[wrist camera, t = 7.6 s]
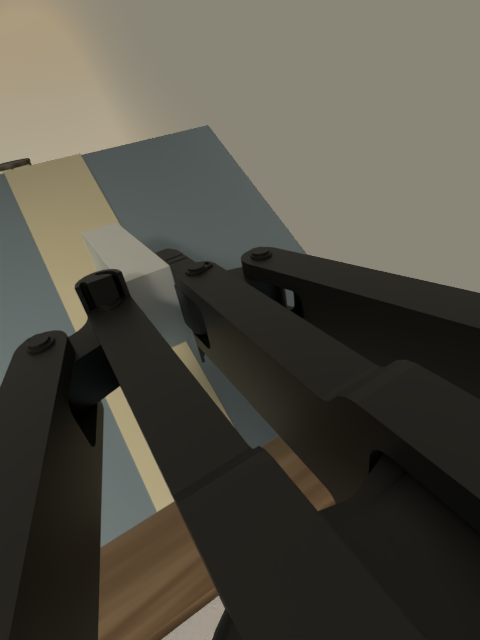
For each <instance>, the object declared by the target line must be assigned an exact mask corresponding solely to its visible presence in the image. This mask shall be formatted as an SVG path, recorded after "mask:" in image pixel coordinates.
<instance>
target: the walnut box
mask: <svg viewBox="0 0 480 640" xmlns="http://www.w3.org/2000/svg"><path fill="white" fill-rule="evenodd" d="M262 448H264V449H265V450H266V451H267V452H268V453H269V454H270V455H271V456H272V457H273V458H274V459H275V460H276V462H277V463H278V464H279V465H280V466H281V468H282V469H283V470H284V471H285V472H286V474H287V475H288V476H289V477H290V478H291V479H292V481H293V482H294V483H295V484H296V485H297V487H298V488H299V489H300V490H301V491H302V493H303V494H304V495H305V496H306V497H307V499H308V500H309V501H310V502H311V503H312V505H313V506H314V507H315V508H316V509H317V511H319V510H322V509H325V508H327V507H330V506H333V505H335V504H336V503H335V501H334V499H333V497H332V495H331V494H330V492H329V491H328V490H327V488H326V487H325V486H324V485H323V484H322V483H321V482H320V480H319V479H318V478H317V477H316V476H315V475H314V474H313V473H312V472H311V470H310V469H309V468H308V467H307V466H306V465H305V464H304V463H303V462H302V460H301V459H300V458H299V457H298V456H297V455H296V454H295V453H294V452H293V451H292V449H291V448H290V447H289V446H288V445H287V444H286V443H285V442H284V441H283V439H282V438H281V437H280V436H278V437H276V438H275V439H273V440H271V441H270V442H268V443H267V444H265V445H263V446H262ZM217 596H218V592H217V590H216V588H215V586H214V584H213V582H212V580H211V578H210V575H209V573H208V571H207V569H206V567H205V565H204V563H203V561H202V558H201V556H200V554H199V552H198V550H197V548H196V546H195V544H194V542H193V539H192V537H191V535H190V533H189V531H188V529H187V527H186V525H185V523H184V520H183V518H182V516H181V514H180V512H179V510H178V508H177V506H176V504H175V502H173V503H171V504H170V505H168V506H167V507H165V508H163V509H162V510H160V511H159V512H157V513H155V514H154V515H152V516H151V517H149V518H148V519H146V520H144V521H143V522H141V523H140V524H138V525H136V526H135V527H133V528H132V529H130V530H129V531H127V532H125V533H124V534H122V535H121V536H119V537H117V538H116V539H114V540H113V541H111V542H109V543H108V544H106V545H105V546H103V547H102V548H100V583H99V622H98V640H161V639H162V638H164V637H165V636H166V635H167V634H169V633H170V632H171V631H173V630H174V629H175V628H177V627H178V626H179V625H180V624H182V623H183V622H184V621H186V620H187V619H188V618H190V617H191V616H192V615H194V614H195V613H196V612H197V611H199V610H200V609H201V608H203V607H204V606H205V605H207V604H208V603H209V602H210V601H212V600H213V599H214V598H216V597H217Z"/></svg>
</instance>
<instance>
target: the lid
mask: <svg viewBox="0 0 480 640" xmlns="http://www.w3.org/2000/svg"><path fill="white" fill-rule="evenodd" d="M114 222H116V223H118V224H119V225H120V226H121V227H123V228H124V229H125V230H126V231H127V232H129V233H130V234H131V235H132V236H134V237H135V238H136V239H137V240H139V241H140V242H141V243H142V244H144V245H145V246H146V247H147V248H148V249H150V250H151V251H152V252H153V253H156V252H159V251H161V250H164V249H167V248H169V249H175V250H178V251H180V252H181V253H183V255H186V256H187V257H188V258H190V259H192V260H193V261H194V262H202V261H210V262H213V263H216V264H217V265H219V266H220V267H222V268H224V269H225V270H230V269H235V268H239V267H242V263H241V256H242V255H243V254H244V253H245V252H247V251H249V250H251V249H252V248H257V247H260V246H262V247H275V248H279V249H284V250H288V251H293V252H297V253H302V254H306V253H305V251H304V250H303V249H302V247H301V246H300V245H299V244H298V242H297V241H296V240H295V238H294V237H293V236H292V235H291V233H290V232H289V230H288V229H287V228H286V227H285V225H284V224H283V223H282V221H281V220H280V219H279V217H278V216H277V215H276V213H275V212H274V211H273V210H272V208H271V207H270V206H269V204H268V203H267V202H266V200H265V199H264V198H263V196H262V195H261V194H260V193H259V191H258V190H257V189H256V187H255V186H254V185H253V183H252V182H251V181H250V180H249V178H248V177H247V176H246V174H245V173H244V172H243V171H242V169H241V168H240V167H239V165H238V164H237V162H236V161H235V160H234V159H233V157H232V156H231V155H230V153H229V152H228V151H227V149H226V148H225V147H224V145H223V144H222V143H221V142H220V140H219V139H218V138H217V136H216V135H215V134H214V132H213V131H212V130H211V128H210V127H209V126H208V125H207V126H203V127H198V128H194V129H190V130H186V131H181V132H177V133H173V134H169V135H164V136H161V137H156V138H152V139H147V140H143V141H139V142H135V143H131V144H126V145H122V146H118V147H114V148H110V149H105V150H101V151H97V152H92V153H88V154H84V155H81V154H77V155H73V156H69V157H65V158H60V159H56V160H51V161H47V162H43V163H39V164H34V165H30V166H26V167H22V168H17V169H13V170H9V171H5V172H4V173H3V174H0V386H1V384H2V381H3V379H4V376H5V374H6V371H7V369H8V366H9V364H10V361H11V359H12V356H13V354H14V352H15V350H16V349H17V348H18V346H20V345H21V344H22V343H23V342H25V340H26V339H28V338H30V337H32V336H33V335H36V334H41V333H43V332H47V331H52V330H61V331H63V332H65V333H66V334H67V336H68V337H69V336H71V335H72V334H74V333H75V332H77V331H78V330H80V329H81V328H82V327H83V326H84V325H85V323H86V322H87V319H88V318H87V314H86V312H85V310H84V308H83V306H82V303H81V301H80V299H79V297H78V295H77V293H76V291H75V284H76V283H77V282H78V281H79V280H80V279H82V278H83V277H85V276H87V275H89V274H91V273H94V272H97V269H96V267H95V265H94V262H93V260H92V257H91V255H90V253H89V250H88V248H87V245H86V243H85V240H84V238H83V236H82V232H85V231H89V230H92V229H95V228H98V227H102V226H105V225H108V224H111V223H114ZM306 255H307V254H306ZM285 290H286V299H287V305H288V306H291V307H294V294H293V291H290V290H287V289H285ZM187 327H188V326H187ZM188 330H189V334H190V337H191V339H190V340H188V341H185V342H183V343H181V344H179V345H177V346H174V347H172V349H173V350H174V352H175V353H176V354H177V355H178V357H179V358H180V359H181V360H182V362H183V363H184V364H185V365H186V367H187V368H188V369H189V371H190V372H191V373H192V374H193V376H194V377H195V378H196V379H197V381H198V382H199V383H200V384H201V386H202V387H203V388H204V390H205V391H206V392H207V393H208V395H209V396H210V397H211V398H212V400H213V401H214V402H215V403H216V405H217V406H218V407H219V408H220V410H221V411H222V412H223V414H224V415H225V416H226V417H227V419H228V420H229V421H230V422H231V424H232V425H233V426H234V427H235V429H236V430H237V431H238V433H239V434H240V435H241V436H242V438H243V439H244V440H245V441H246V443H247V444H248V445H249V446H250V447H251V448H253V449H254V448H256V447H257V446H260V447H262V446H263V445H265V444H267V443H268V442H270V441H271V440H273V439H275V438H276V437H278V436H279V435H278V434H277V433H276V432H275V431H274V429H273V428H272V427H271V426H270V425H269V424H268V423H267V422H266V421H265V420H264V418H263V417H262V416H261V415H260V414H259V413H258V412H257V411H256V410H255V408H254V407H253V406H252V405H251V404H250V403H249V402H248V401H247V400H246V398H245V397H244V396H243V395H242V394H241V393H240V392H239V391H238V390H237V389H236V387H235V386H234V385H233V384H232V383H231V382H230V381H229V380H228V379H227V377H226V376H225V375H224V374H223V373H222V372H221V371H220V370H219V369H218V367H217V366H216V365H215V364H214V363H213V362H212V361H211V360H210V359H209V358H208V356H207V355H206V354H205V356H204V359H205V362H203V363H202V361H201V359H200V355H199V352H198V348H197V345H196V341H195V338H194V334H193V331H192V330H191V329H190V328H189V327H188ZM101 402H102V404H103V407H104V428H103V467H102V506H101V544H100V548H102V547H103V546H105V545H106V544H108V543H109V542H111V541H113V540H114V539H116V538H117V537H119V536H121V535H122V534H124V533H125V532H127V531H129V530H130V529H132V528H133V527H135V526H136V525H138V524H140V523H141V522H143V521H144V520H146V519H148V518H149V517H151V516H152V515H154V514H155V513H157V512H159V511H160V510H162V509H163V508H165V507H167V506H168V505H170V504H171V503H173V502H175V501H174V499H173V497H172V495H171V493H170V491H169V489H168V487H167V484H166V482H165V480H164V478H163V476H162V474H161V472H160V470H159V468H158V465H157V463H156V461H155V459H154V457H153V455H152V453H151V451H150V449H149V446H148V444H147V442H146V440H145V438H144V436H143V434H142V432H141V429H140V427H139V425H138V423H137V421H136V419H135V417H134V415H133V413H132V410H131V408H130V406H129V404H128V402H127V400H126V398H125V396H124V394H123V391H122V389H121V387H120V386H119V387H118V388H117V389H115V390H114V391H113V392H111V393H110V394H109V395H107V396H106V397H105V398H103V399H102V400H101Z"/></svg>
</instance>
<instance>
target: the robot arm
mask: <svg viewBox="0 0 480 640" xmlns="http://www.w3.org/2000/svg"><path fill="white" fill-rule="evenodd" d="M82 236H83V238H84V240H85V243H86V245H87V248H88V250H89V253H90V255H91V257H92V260H93V262H94V265H95V267H96V269H97V272H94V273H91V274H89V275H87V276H85V277H83V278H82V279H80V280H79V281H78V282H77V283H76V284H75V291H76V293H77V295H78V297H79V299H80V301H81V303H82V306H83V308H84V310H85V312H86V314H87V318H88V319H87V322H86V323H85V325H84V326H83V327H82V328H81V329H80V330H78V331H77V332H75V333H74V334H72V335H71V336H69V337H68V336H67V334H66V333H65V332H63V331H61V330H52V331H47V332H43V333H41V334H36V335H33V336H32V337H30V338H28V339H26V340H25V342H23V343H22V344H21V345H20V346H18V348H17V349H16V350H15V352H14V354H13V356H12V359H11V361H10V364H9V366H8V369H7V371H6V374H5V376H4V379H3V381H2V384H1V386H0V640H98V622H99V583H100V544H101V506H102V467H103V428H104V407H103V404H102V402H101V400H102V399H103V398H105V397H106V396H107V395H109V394H110V393H111V392H113V391H114V390H115V389H117V388H118V387H119V386H120V387H121V389H122V391H123V394H124V396H125V398H126V400H127V402H128V404H129V406H130V408H131V410H132V413H133V415H134V417H135V419H136V421H137V423H138V425H139V427H140V429H141V432H142V434H143V436H144V438H145V440H146V442H147V444H148V446H149V449H150V451H151V453H152V455H153V457H154V459H155V461H156V463H157V465H158V468H159V470H160V472H161V474H162V476H163V478H164V480H165V482H166V484H167V487H168V489H169V491H170V493H171V495H172V497H173V499H174V501H175V504H176V506H177V508H178V510H179V512H180V514H181V516H182V518H183V520H184V523H185V525H186V527H187V529H188V531H189V533H190V535H191V537H192V539H193V542H194V544H195V546H196V548H197V550H198V552H199V554H200V556H201V558H202V561H203V563H204V565H205V567H206V569H207V571H208V573H209V575H210V578H211V580H212V582H213V584H214V586H215V588H216V590H217V592H218V595H219V597H220V599H221V601H222V603H223V605H224V607H225V611H224V613H223V615H222V617H221V619H220V621H219V624H218V626H217V628H216V630H215V633H214V636H213V639H212V640H480V293H477V292H472V291H468V290H464V289H459V288H455V287H450V286H446V285H441V284H437V283H432V282H428V281H423V280H419V279H414V278H409V277H405V276H401V275H396V274H391V273H387V272H383V271H378V270H373V269H369V268H364V267H360V266H355V265H351V264H347V263H342V262H338V261H333V260H329V259H324V258H320V257H315V256H310V255H306V254H302V253H297V252H293V251H288V250H284V249H279V248H275V247H262V246H260V247H257V248H252V249H251V250H249V251H247V252H245V253H244V254H243V255H242V256H241V263H242V267H239V268H235V269H230V270H225V269H224V268H222V267H220V266H219V265H217V264H216V263H213V262H210V261H202V262H194V261H193V260H192V259H190V258H188V257H187V256H186V255H183V253H181V252H180V251H178V250H175V249H169V248H167V249H164V250H161V251H159V252H156V253H153V252H152V251H151V250H150V249H148V248H147V247H146V246H145V245H144V244H142V243H141V242H140V241H139V240H137V239H136V238H135V237H134V236H132V235H131V234H130V233H129V232H127V231H126V230H125V229H124V228H123V227H121V226H120V225H119V224H118V223H116V222H114V223H111V224H108V225H105V226H102V227H98V228H95V229H92V230H89V231H85V232H82ZM285 289H287V290H290V291H293V294H294V307H291V306H288V305H287V299H286V290H285ZM187 326H188V327H189V328H190V329H191V330H192V331H193V334H194V338H195V341H196V345H197V348H198V352H199V355H200V359H201V361H202V363H203V362H205V359H204V356H205V354H206V355H207V356H208V358H209V359H210V360H211V361H212V362H213V363H214V364H215V365H216V366H217V367H218V369H219V370H220V371H221V372H222V373H223V374H224V375H225V376H226V377H227V379H228V380H229V381H230V382H231V383H232V384H233V385H234V386H235V387H236V389H237V390H238V391H239V392H240V393H241V394H242V395H243V396H244V397H245V398H246V400H247V401H248V402H249V403H250V404H251V405H252V406H253V407H254V408H255V410H256V411H257V412H258V413H259V414H260V415H261V416H262V417H263V418H264V420H265V421H266V422H267V423H268V424H269V425H270V426H271V427H272V428H273V429H274V431H275V432H276V433H277V434H278V435H279V436H280V437H281V438H282V439H283V441H284V442H285V443H286V444H287V445H288V446H289V447H290V448H291V449H292V451H293V452H294V453H295V454H296V455H297V456H298V457H299V458H300V459H301V460H302V462H303V463H304V464H305V465H306V466H307V467H308V468H309V469H310V470H311V472H312V473H313V474H314V475H315V476H316V477H317V478H318V479H319V480H320V482H321V483H322V484H323V485H324V486H325V487H326V488H327V490H328V491H329V492H330V494H331V495H332V497H333V499H334V501H335V503H336V504H335V505H333V506H330V507H327V508H325V509H322V510H319V511H317V509H316V508H315V507H314V506H313V505H312V503H311V502H310V501H309V500H308V499H307V497H306V496H305V495H304V494H303V493H302V491H301V490H300V489H299V488H298V487H297V485H296V484H295V483H294V482H293V481H292V479H291V478H290V477H289V476H288V475H287V474H286V472H285V471H284V470H283V469H282V468H281V466H280V465H279V464H278V463H277V462H276V460H275V459H274V458H273V457H272V456H271V455H270V454H269V453H268V452H267V451H266V450H265V449H264V448H262V447H260V446H257V447H256V448H254V449H253V448H251V447H250V446H249V445H248V444H247V443H246V441H245V440H244V439H243V438H242V436H241V435H240V434H239V433H238V431H237V430H236V429H235V427H234V426H233V425H232V424H231V422H230V421H229V420H228V419H227V417H226V416H225V415H224V414H223V412H222V411H221V410H220V408H219V407H218V406H217V405H216V403H215V402H214V401H213V400H212V398H211V397H210V396H209V395H208V393H207V392H206V391H205V390H204V388H203V387H202V386H201V384H200V383H199V382H198V381H197V379H196V378H195V377H194V376H193V374H192V373H191V372H190V371H189V369H188V368H187V367H186V365H185V364H184V363H183V362H182V360H181V359H180V358H179V357H178V355H177V354H176V353H175V352H174V350H173V349H172V347H174V346H177V345H179V344H181V343H183V342H185V341H188V340H190V339H191V337H190V334H189V330H188V327H187Z"/></svg>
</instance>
